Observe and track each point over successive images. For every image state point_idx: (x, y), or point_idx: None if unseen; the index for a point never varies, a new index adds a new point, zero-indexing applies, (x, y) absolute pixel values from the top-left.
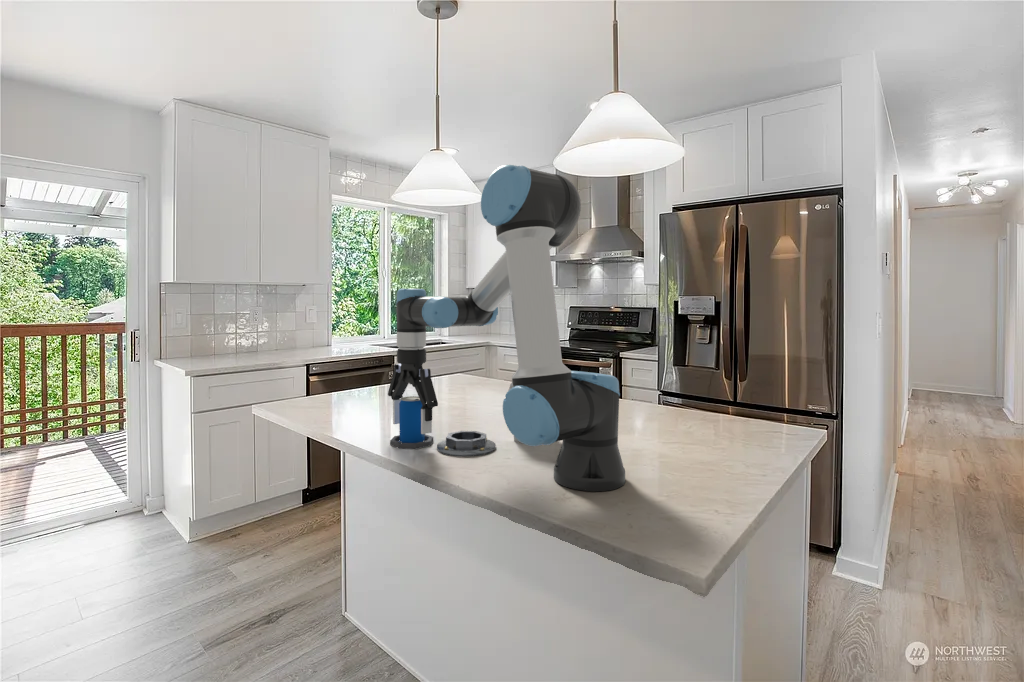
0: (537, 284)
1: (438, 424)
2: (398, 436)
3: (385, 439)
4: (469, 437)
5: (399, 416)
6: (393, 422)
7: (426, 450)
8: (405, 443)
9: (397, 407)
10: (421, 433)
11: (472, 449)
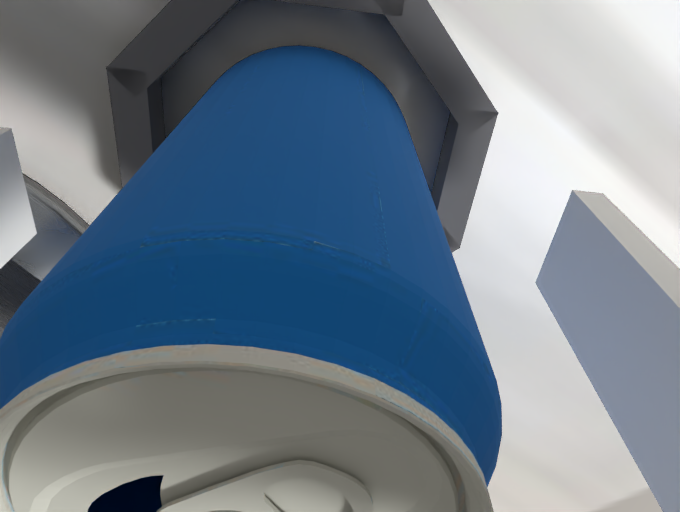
0: None
1: (523, 499)
2: (455, 130)
3: (588, 69)
4: None
5: (375, 153)
6: (604, 200)
7: (31, 92)
8: (195, 10)
9: (655, 351)
10: (1, 129)
11: None
